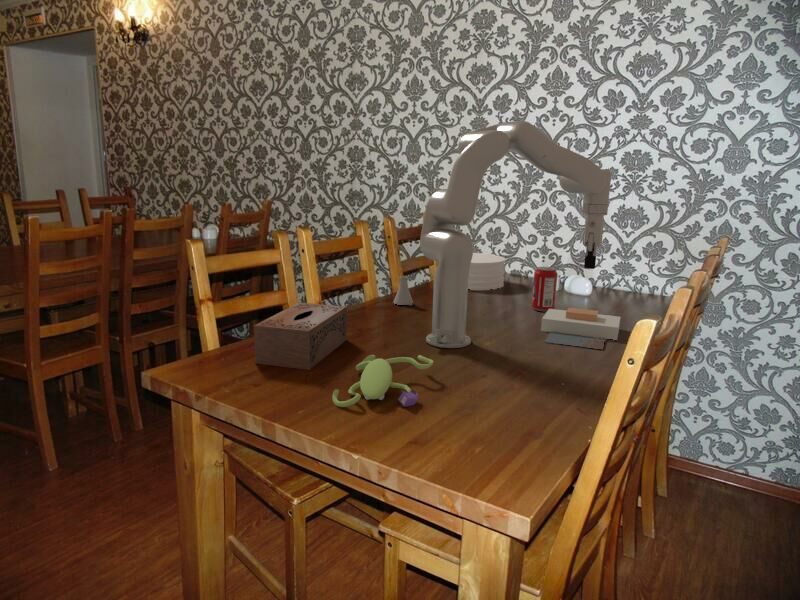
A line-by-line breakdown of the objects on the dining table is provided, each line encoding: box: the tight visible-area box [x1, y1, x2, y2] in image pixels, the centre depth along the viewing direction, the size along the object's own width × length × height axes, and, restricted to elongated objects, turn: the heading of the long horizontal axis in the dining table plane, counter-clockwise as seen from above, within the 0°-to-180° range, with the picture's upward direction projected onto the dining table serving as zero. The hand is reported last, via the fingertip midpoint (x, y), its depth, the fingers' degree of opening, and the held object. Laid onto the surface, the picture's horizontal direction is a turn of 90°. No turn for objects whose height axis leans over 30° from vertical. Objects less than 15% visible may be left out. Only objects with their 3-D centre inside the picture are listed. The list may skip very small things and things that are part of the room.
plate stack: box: [468, 252, 506, 291], centre depth 244 cm, size 28×28×12 cm
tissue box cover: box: [253, 302, 348, 371], centre depth 150 cm, size 26×14×10 cm, turn 165°
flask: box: [392, 275, 414, 306], centre depth 204 cm, size 7×7×10 cm
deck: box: [540, 308, 622, 341], centre depth 177 cm, size 14×22×4 cm, turn 67°
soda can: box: [531, 266, 558, 313], centre depth 200 cm, size 8×8×15 cm
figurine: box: [331, 354, 434, 408], centre depth 127 cm, size 18×27×6 cm
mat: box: [544, 332, 607, 348], centre depth 166 cm, size 12×16×1 cm
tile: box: [566, 307, 599, 322], centre depth 176 cm, size 6×9×2 cm, turn 67°
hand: (589, 267), depth 181 cm, fingers closed
